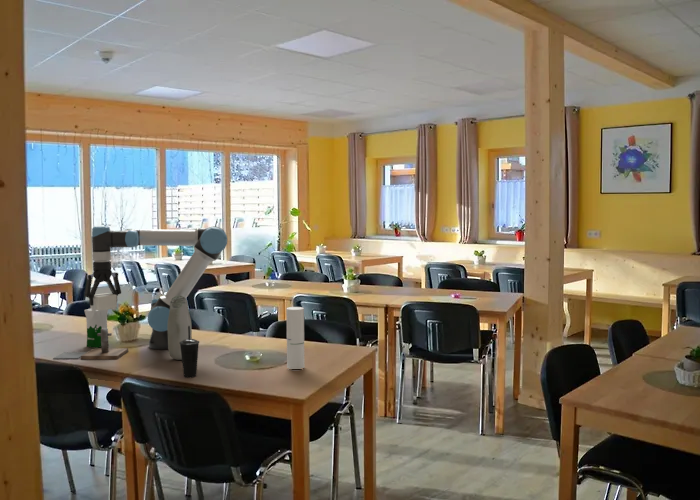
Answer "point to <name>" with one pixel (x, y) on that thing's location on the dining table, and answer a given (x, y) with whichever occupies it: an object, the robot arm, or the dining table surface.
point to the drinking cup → (189, 356)
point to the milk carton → (95, 326)
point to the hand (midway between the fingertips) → (103, 311)
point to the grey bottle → (178, 325)
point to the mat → (70, 355)
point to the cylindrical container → (295, 337)
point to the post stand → (105, 349)
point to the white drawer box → (105, 301)
